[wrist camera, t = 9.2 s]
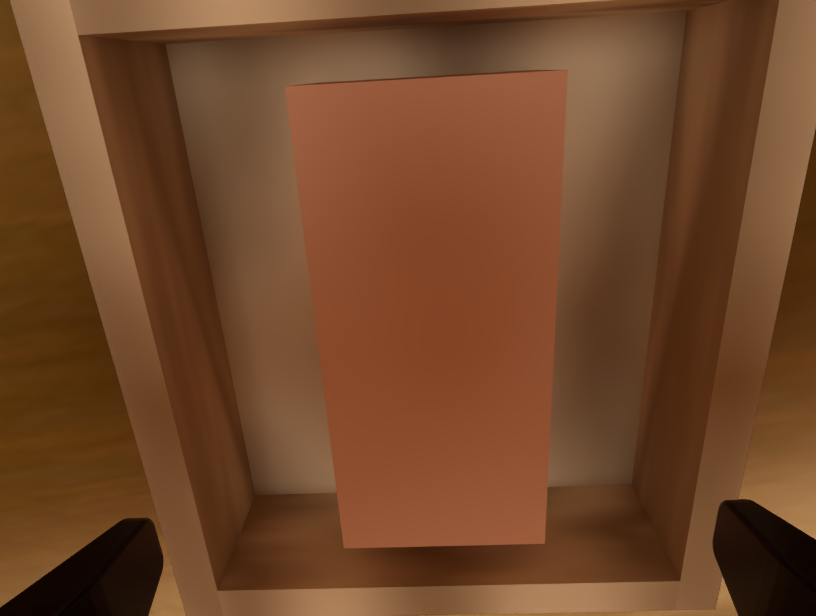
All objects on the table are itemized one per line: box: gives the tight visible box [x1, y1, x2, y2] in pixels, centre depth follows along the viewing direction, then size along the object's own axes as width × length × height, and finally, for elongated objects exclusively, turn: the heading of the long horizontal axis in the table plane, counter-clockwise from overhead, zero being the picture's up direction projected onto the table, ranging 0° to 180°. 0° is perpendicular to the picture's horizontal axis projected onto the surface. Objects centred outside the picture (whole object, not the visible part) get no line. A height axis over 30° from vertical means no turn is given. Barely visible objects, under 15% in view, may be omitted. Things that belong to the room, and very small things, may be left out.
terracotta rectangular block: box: [285, 70, 568, 548], centre depth 16 cm, size 6×13×4 cm, turn 3°
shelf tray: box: [10, 0, 816, 616], centre depth 17 cm, size 16×18×6 cm
